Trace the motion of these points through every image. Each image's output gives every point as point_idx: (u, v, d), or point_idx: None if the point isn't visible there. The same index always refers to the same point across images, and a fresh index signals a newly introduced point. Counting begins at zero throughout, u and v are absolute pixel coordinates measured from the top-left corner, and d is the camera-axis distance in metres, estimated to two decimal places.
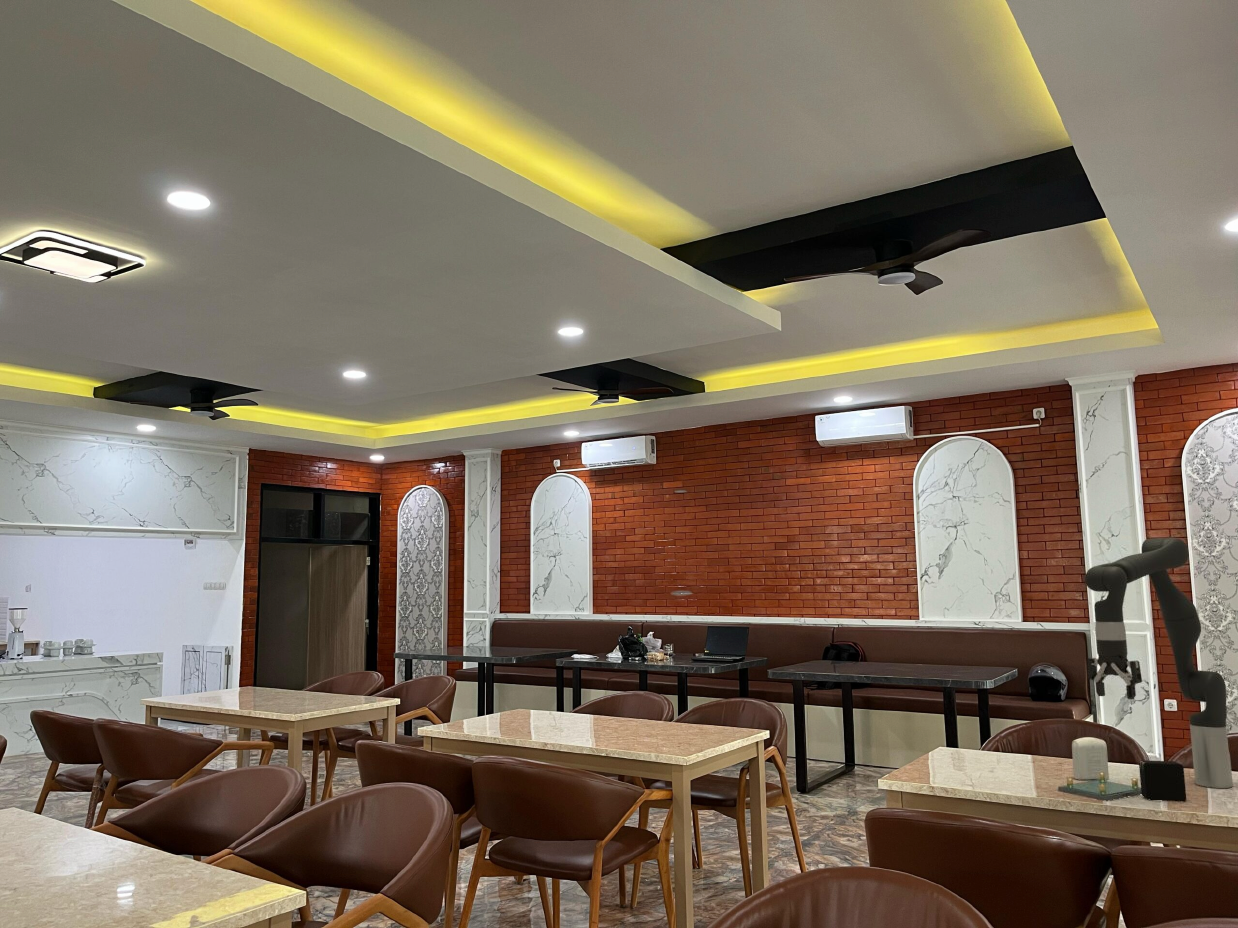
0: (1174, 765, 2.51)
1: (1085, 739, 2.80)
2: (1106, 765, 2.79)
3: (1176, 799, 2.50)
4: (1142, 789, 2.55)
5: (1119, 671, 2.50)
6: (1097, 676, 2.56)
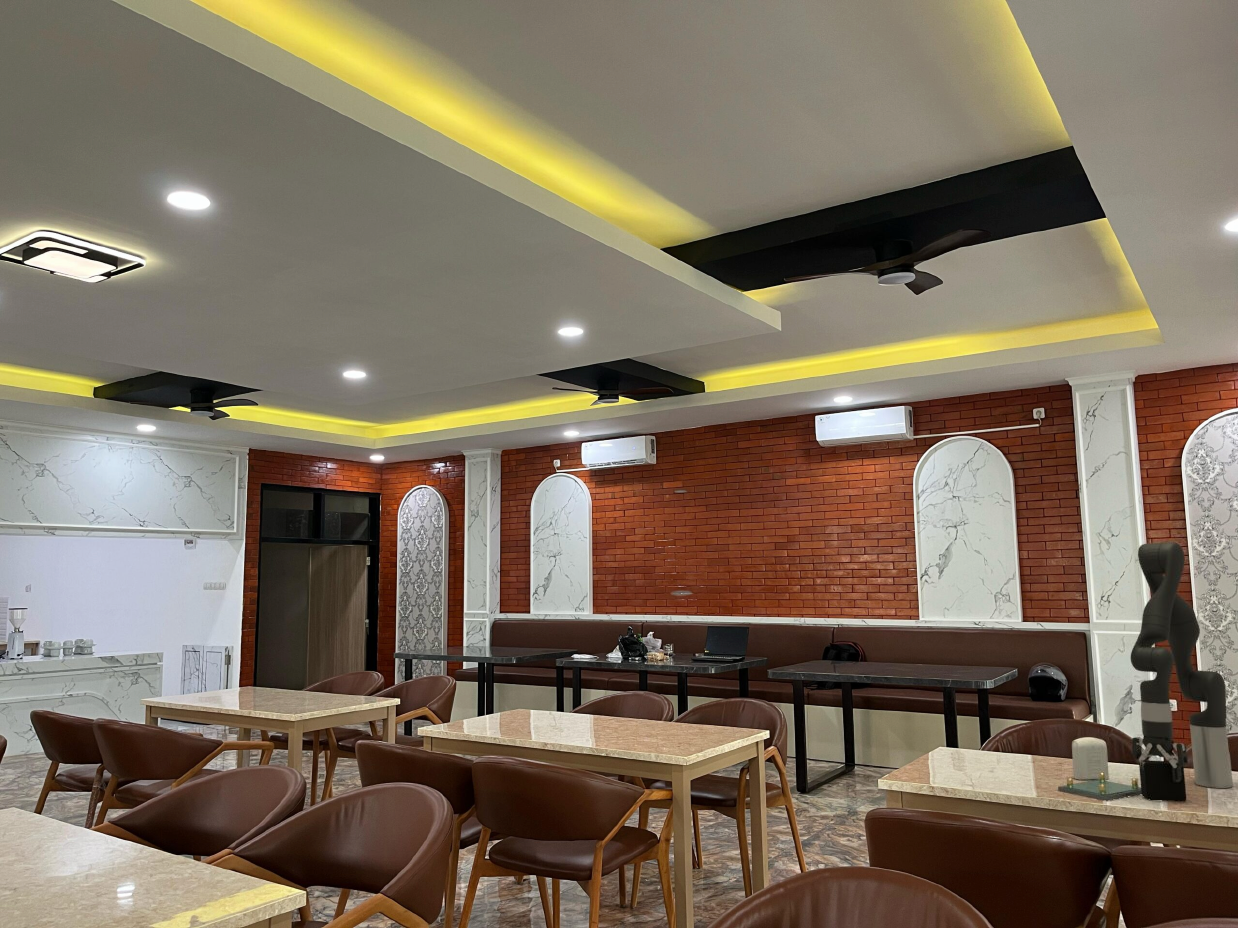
0: None
1: (1085, 739, 2.80)
2: (1106, 765, 2.79)
3: (1176, 799, 2.50)
4: (1142, 789, 2.55)
5: (1165, 753, 2.51)
6: (1142, 756, 2.57)
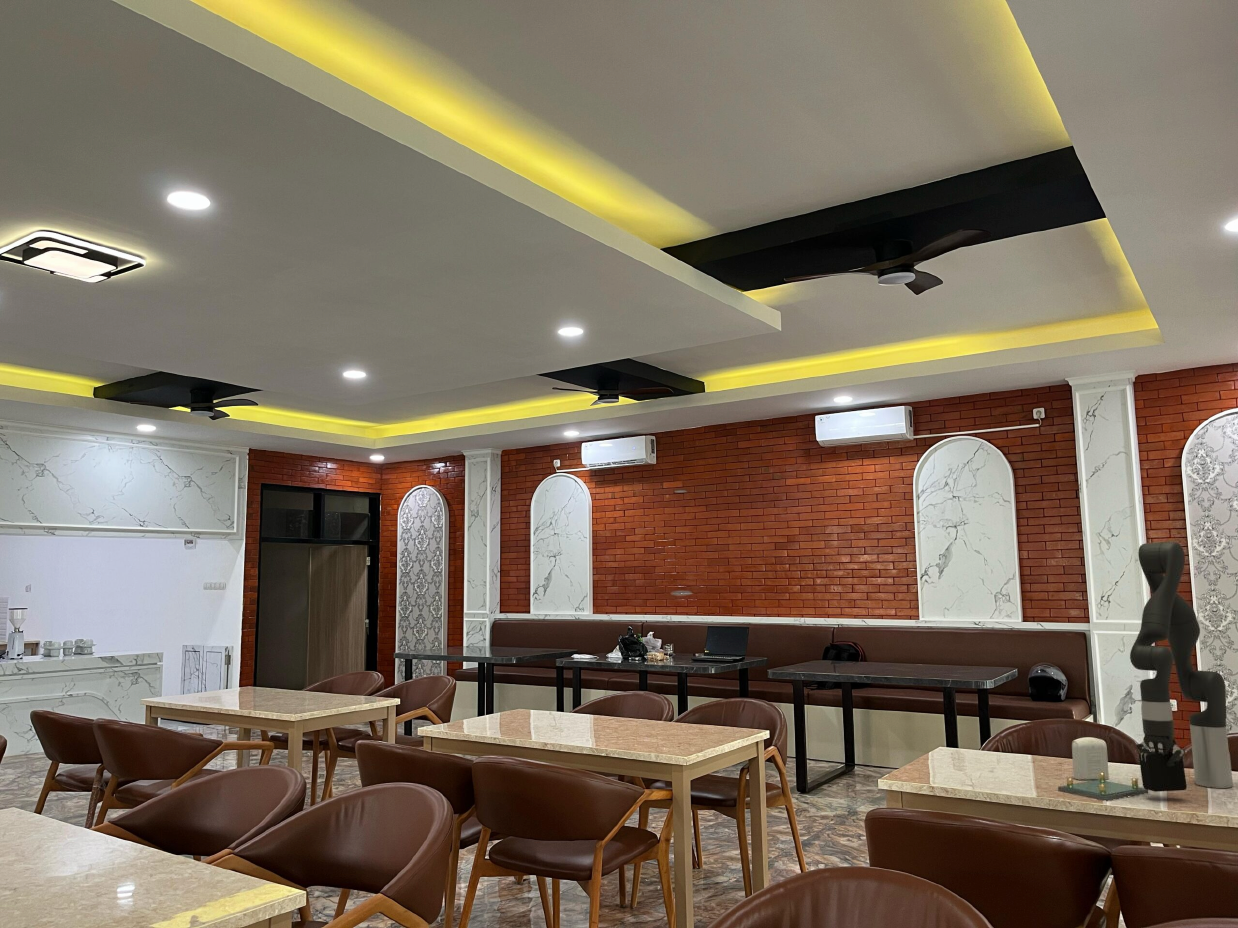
0: None
1: (1085, 739, 2.80)
2: (1106, 765, 2.79)
3: (1178, 788, 2.51)
4: (1144, 781, 2.53)
5: None
6: None
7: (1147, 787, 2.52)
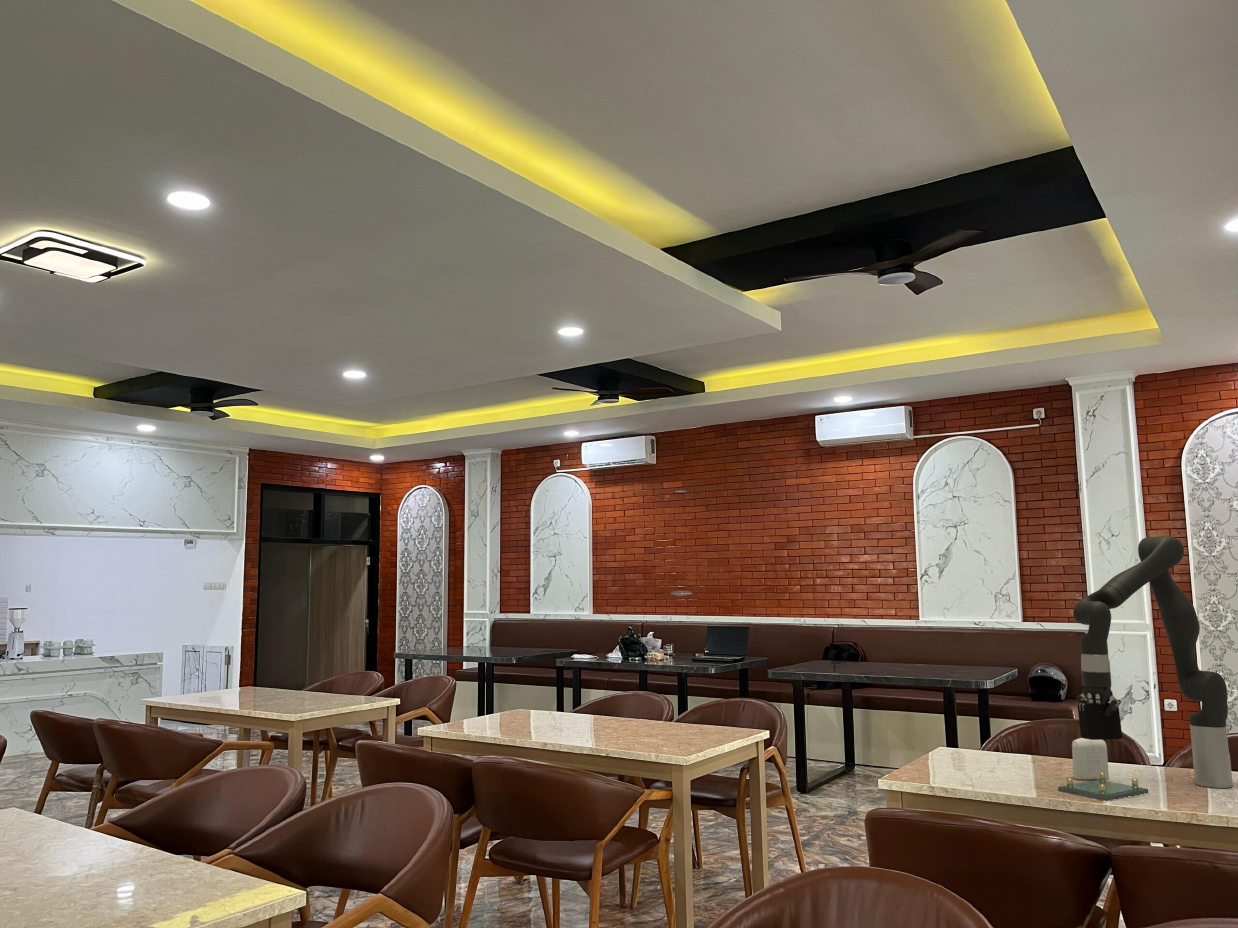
0: None
1: (1085, 739, 2.80)
2: (1106, 765, 2.79)
3: (1114, 737, 2.61)
4: (1082, 730, 2.64)
5: (1099, 703, 2.63)
6: None
7: (1084, 736, 2.62)
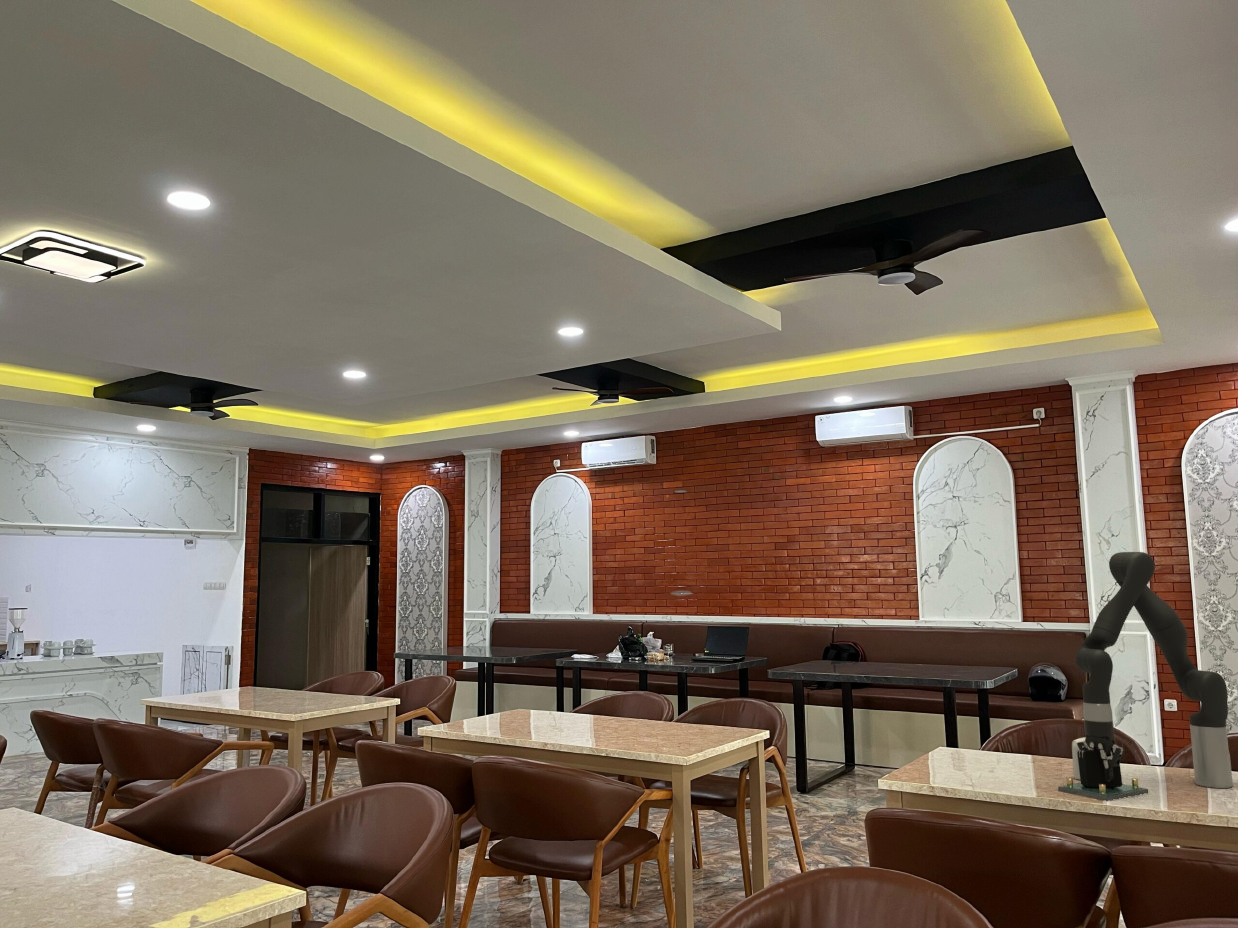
0: None
1: None
2: None
3: (1114, 785, 2.60)
4: (1082, 777, 2.63)
5: (1103, 753, 2.61)
6: None
7: (1084, 783, 2.62)
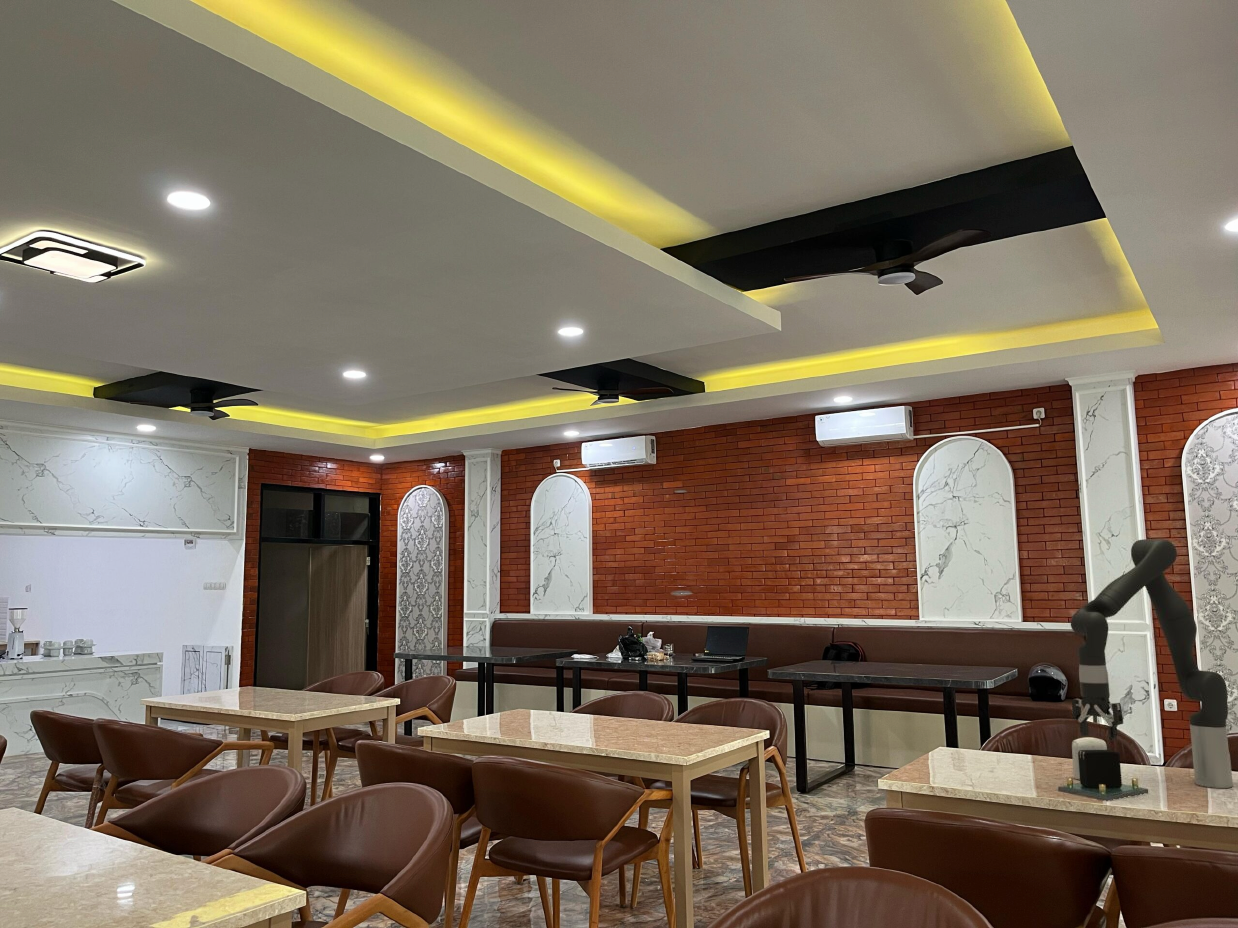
0: (1111, 753, 2.61)
1: (1085, 739, 2.80)
2: None
3: (1113, 786, 2.60)
4: (1081, 778, 2.63)
5: (1102, 713, 2.62)
6: (1081, 716, 2.68)
7: (1083, 784, 2.62)
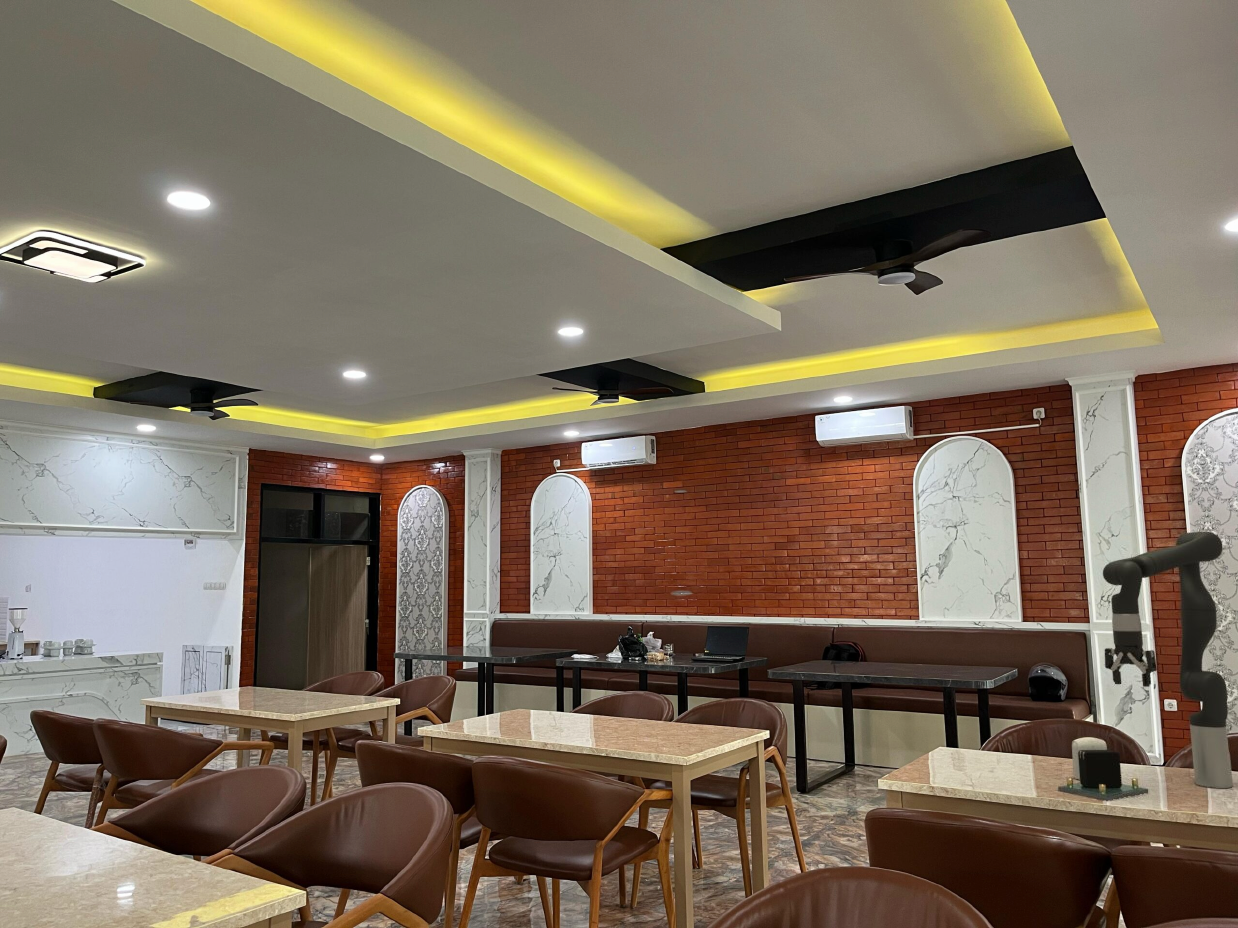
0: (1111, 753, 2.61)
1: (1085, 739, 2.80)
2: None
3: (1113, 786, 2.60)
4: (1081, 778, 2.63)
5: (1135, 660, 2.64)
6: (1114, 665, 2.70)
7: (1083, 784, 2.62)
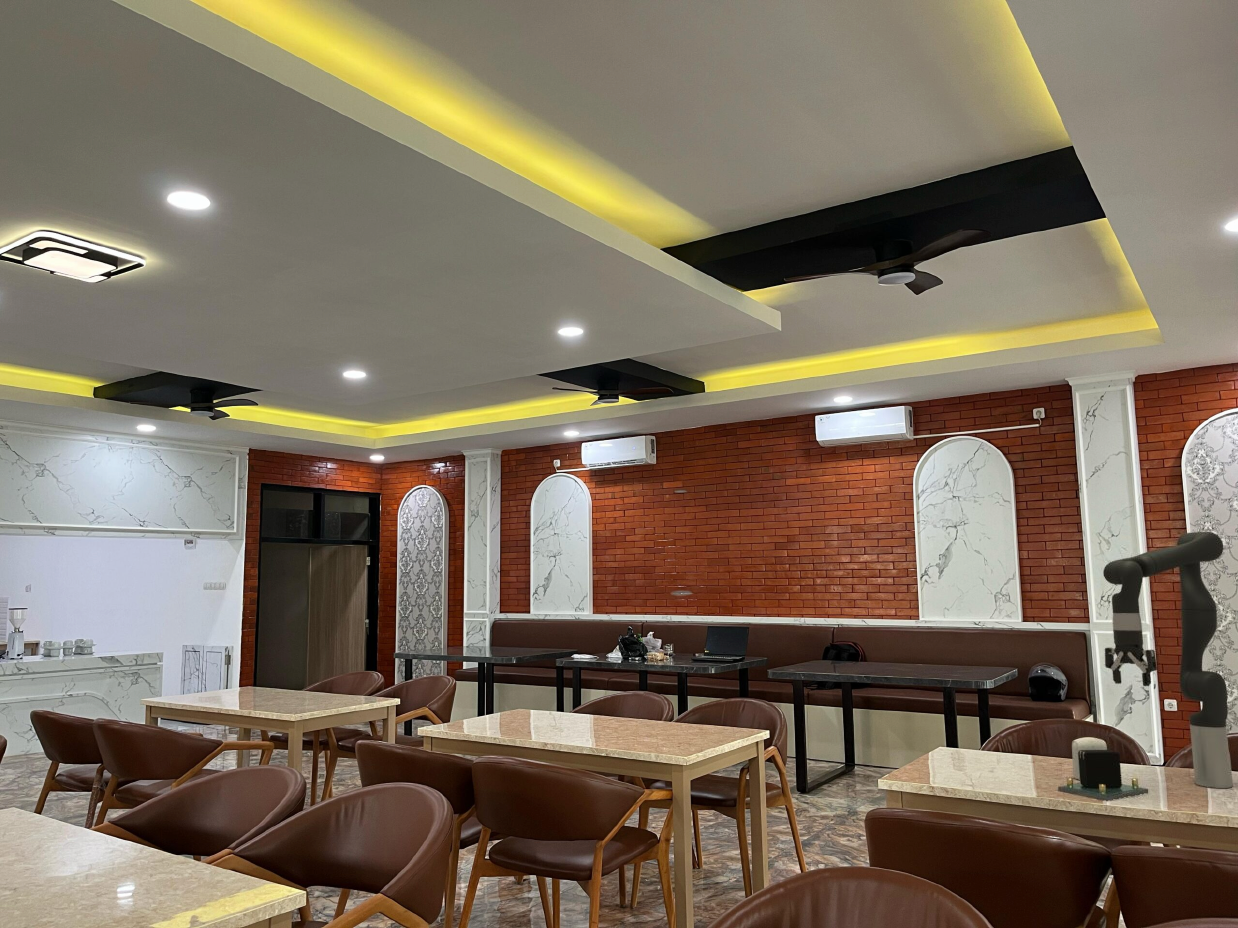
0: (1111, 753, 2.61)
1: (1085, 739, 2.80)
2: None
3: (1113, 786, 2.60)
4: (1081, 778, 2.63)
5: (1135, 659, 2.64)
6: (1114, 664, 2.70)
7: (1083, 784, 2.62)
